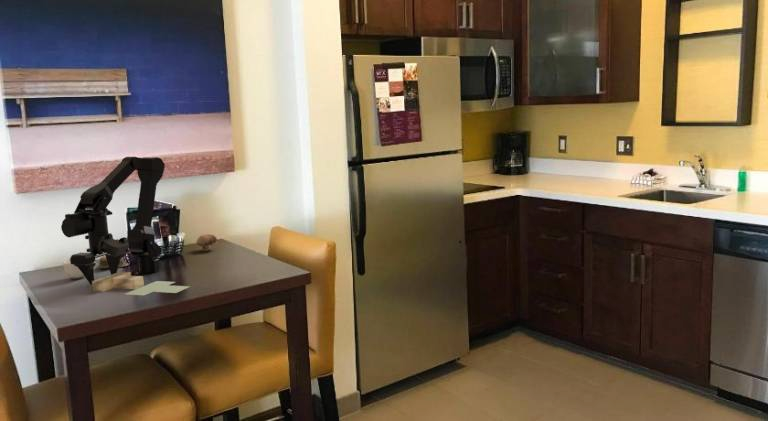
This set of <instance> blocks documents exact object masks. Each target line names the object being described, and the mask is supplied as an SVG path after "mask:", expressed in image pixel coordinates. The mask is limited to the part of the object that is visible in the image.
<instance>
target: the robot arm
mask: <svg viewBox="0 0 768 421" xmlns="http://www.w3.org/2000/svg"><path fill="white" fill-rule="evenodd" d="M165 166H166V164H165V162H164V160H163V159H162V158H160V157H159V156H158V157H156V156H155V157H154V156H153V157H149V156H148V157H138V156H125V157H123V158H121V162H119V163H118V165H117V166H116V167H115V168H113V169H112V171H110V173H108V175H107V176H105V178H104V179H103V180H101V181H100V182H99V183H97V184H95V185H92V186H91V187H88V189H86V190H85V191H83V192H82V193H81V195H80V200H79V201H78V204H77V205H76V208H75V209H74V212H73V213H66V214H65V215H64V219H63V220H62V222H61V226H60V229H61V231H62V234H63V235H64V236H65V237H67V238H73V237H77V236H78V237H79V236H83V235H85V236H84V239H85V240H88V248H86V249H85V250H86V252H78V253H74V254H72V255H71V256H70V257H69V260H70V263H71V264H74V266H77V267H78V268H79V269H80V271H81V272H82V273H83V275H84V276H85V279H86V280H87V282H88V283H89V285H92V281H95V273H94V272H95V271H94V270H95V269H93V268H94V267H95V266H96V263H97V262H96V259H97V258H101V257H103V256H106V259H107V263H108V266H109V268H108V269H109V272H110V275H112V274H115V273H118V269H119V267H118V265H119V262H120V260H121V258H122V257H123V258H124V257H126V254H127V253H129V252H130V254H131V256H133V257H135V260H136V270H137V272H134V274H135V275H152V274H153V275H154V274H155V273H158V272H160V271H162V269H161V268H160V259H159V258H158V257H159V256H161V255H162V250H163V248H162V247H161V246H160V245H159V244H158V243H157V242H156V238H155V237H156V236H155V232H154V230H153V228H152V223H153V215H154V208H155V202H156V201H155V200H156V193H157V192H156V191H157V185H158V183H159V182H161V181H160V180H161V179H162V178H163V176H164V172H165ZM135 171H137V176H138V179H139V181H140V188H139V193H138V194H139V195H138V203H137V209H136V210H137V212H136V218H135V225H134V226H133V228H132V229H130V228H129V229H128V230H127V233H126V234H127V235H126V237H124V236H123V237H120V238H118V239H115V238H113V234H112V232H111V233H109V226H108V217H107V216H112V215H113V212H112V211H111V210H109V209H108V206H109V205H110V203H111V201H112V200H113V196H114V193H115V191H117V190H118V189H119V187H120V186H122V184H123V183H125V181H126V180H127V179H128V178H129V177H130V176H131V175H132V174H133V173H135ZM94 262H96V263H94Z"/></svg>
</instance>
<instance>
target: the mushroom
mask: <svg viewBox="0 0 768 421" xmlns="http://www.w3.org/2000/svg"><path fill="white" fill-rule="evenodd" d="M217 243H218V239H217V237H216V236H215V235H213V234H210V233H206V234H202V235H200V236H199V237H198V238H197V239H196V244H197V246H199V247H202V248H201V251H202V252H208V251H209V250H210V249H211V246H214V245H216V244H217Z"/></svg>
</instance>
